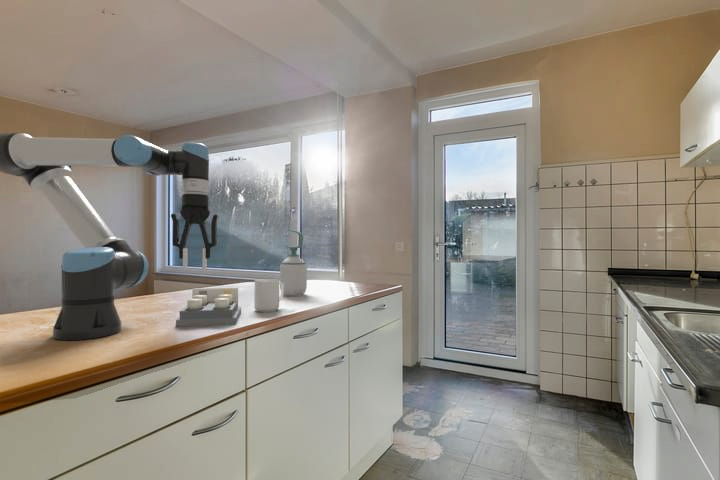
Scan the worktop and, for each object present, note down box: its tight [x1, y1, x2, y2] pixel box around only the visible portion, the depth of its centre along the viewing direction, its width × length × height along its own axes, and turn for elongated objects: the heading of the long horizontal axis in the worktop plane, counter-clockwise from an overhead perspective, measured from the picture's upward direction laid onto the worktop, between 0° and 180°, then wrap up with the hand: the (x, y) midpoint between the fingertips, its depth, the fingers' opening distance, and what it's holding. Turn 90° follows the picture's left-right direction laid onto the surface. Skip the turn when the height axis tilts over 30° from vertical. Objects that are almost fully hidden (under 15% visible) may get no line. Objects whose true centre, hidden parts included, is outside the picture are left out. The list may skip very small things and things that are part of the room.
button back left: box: [193, 295, 207, 306], centre depth 124 cm, size 4×4×3 cm
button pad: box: [175, 287, 242, 327], centre depth 122 cm, size 17×18×9 cm
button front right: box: [215, 298, 229, 309], centre depth 117 cm, size 4×4×3 cm
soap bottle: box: [279, 228, 308, 297], centre depth 176 cm, size 12×12×31 cm
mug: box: [253, 278, 285, 313], centre depth 139 cm, size 12×9×11 cm
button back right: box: [219, 294, 232, 305], centre depth 125 cm, size 4×4×3 cm
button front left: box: [186, 298, 202, 310], centre depth 116 cm, size 4×4×3 cm
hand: (194, 269), depth 116 cm, fingers open, 5 cm apart
